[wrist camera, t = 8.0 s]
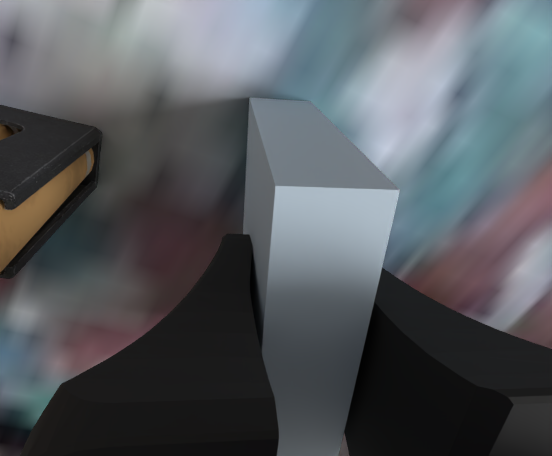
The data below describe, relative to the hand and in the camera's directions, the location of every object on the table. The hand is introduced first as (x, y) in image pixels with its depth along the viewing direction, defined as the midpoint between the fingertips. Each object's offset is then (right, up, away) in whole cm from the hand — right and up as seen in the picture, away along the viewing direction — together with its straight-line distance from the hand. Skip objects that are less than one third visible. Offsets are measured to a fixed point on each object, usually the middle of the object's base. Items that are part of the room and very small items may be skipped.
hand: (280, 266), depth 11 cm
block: (0, +1, +2) cm, 3 cm away
